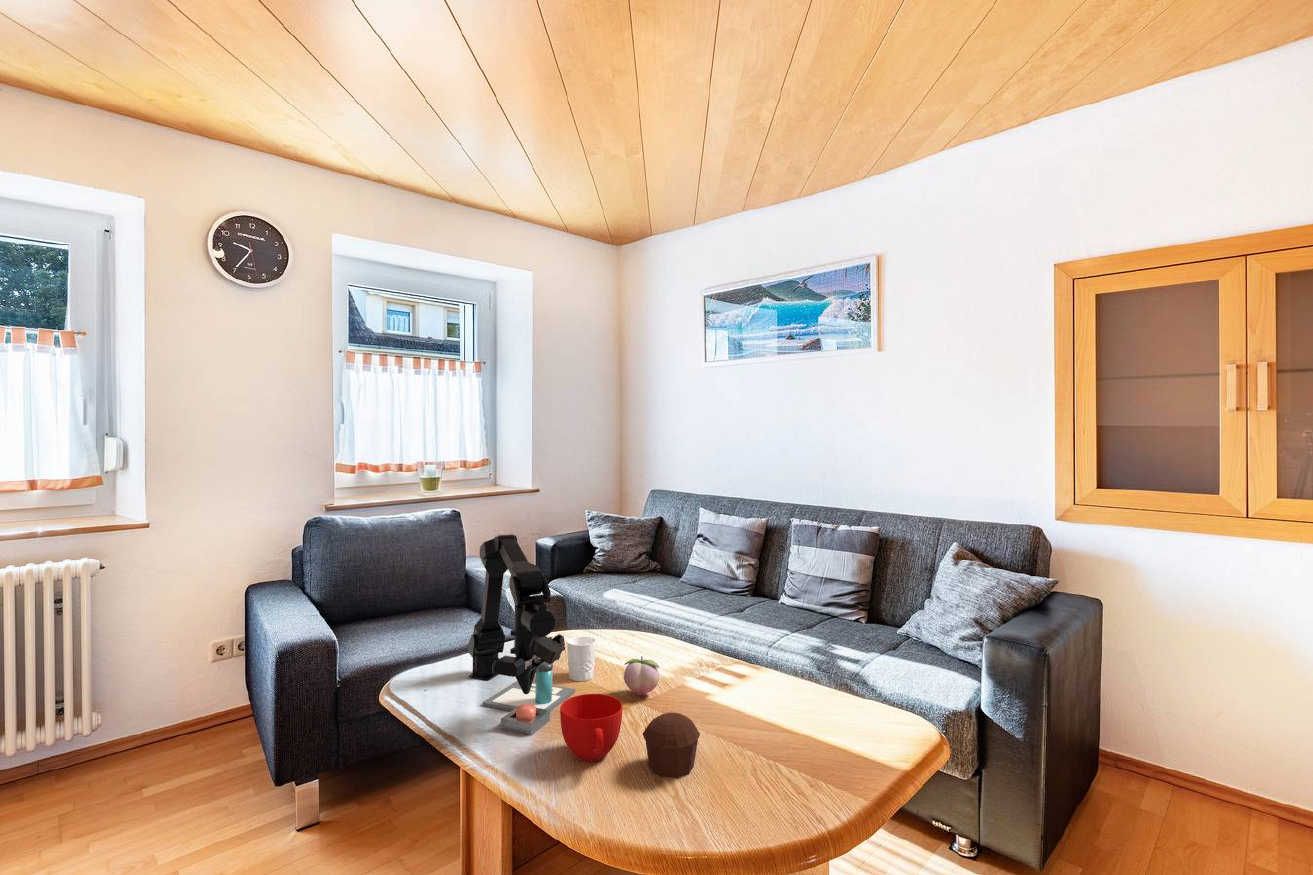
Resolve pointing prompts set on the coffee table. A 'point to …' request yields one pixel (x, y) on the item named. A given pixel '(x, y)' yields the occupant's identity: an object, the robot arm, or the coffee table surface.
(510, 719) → the button housing
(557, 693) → the drawing board
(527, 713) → the button
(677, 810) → the coffee table surface
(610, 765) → the coffee table surface
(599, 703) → the ceramic cup
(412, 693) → the coffee table surface
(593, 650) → the white cup
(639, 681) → the decorative fruit
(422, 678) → the coffee table surface
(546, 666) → the marker
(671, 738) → the muffin
